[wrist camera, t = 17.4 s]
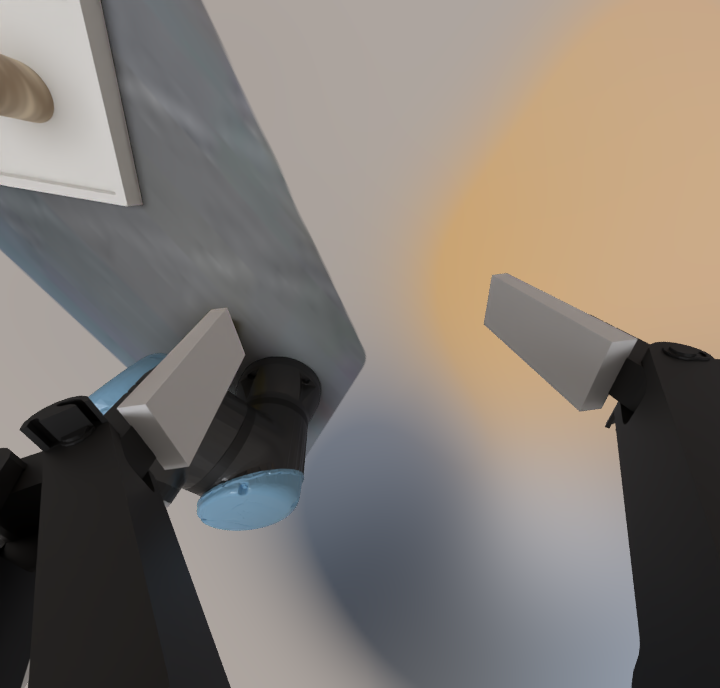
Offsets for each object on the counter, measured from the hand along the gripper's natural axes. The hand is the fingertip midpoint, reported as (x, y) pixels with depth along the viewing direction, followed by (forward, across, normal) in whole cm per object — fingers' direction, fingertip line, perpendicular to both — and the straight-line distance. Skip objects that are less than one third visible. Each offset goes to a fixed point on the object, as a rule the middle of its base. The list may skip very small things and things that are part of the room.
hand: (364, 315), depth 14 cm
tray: (+29, -31, +17) cm, 46 cm away
